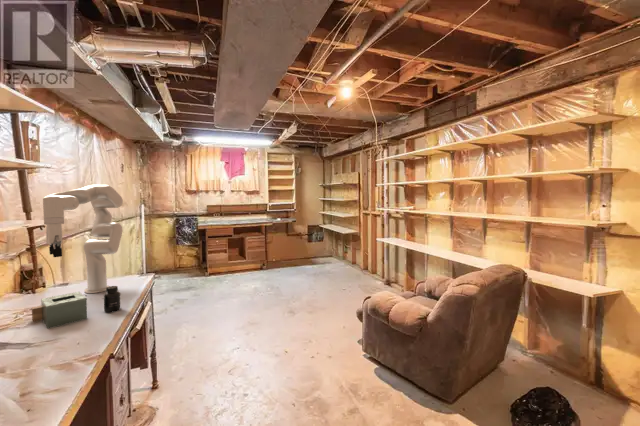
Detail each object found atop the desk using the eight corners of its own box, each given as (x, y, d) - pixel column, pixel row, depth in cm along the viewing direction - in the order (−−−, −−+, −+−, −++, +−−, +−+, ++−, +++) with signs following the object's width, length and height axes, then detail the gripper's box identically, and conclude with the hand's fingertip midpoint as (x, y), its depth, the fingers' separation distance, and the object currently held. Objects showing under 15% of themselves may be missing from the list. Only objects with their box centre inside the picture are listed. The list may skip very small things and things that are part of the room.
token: (32, 320, 139) (31, 307, 139) (49, 316, 144) (48, 303, 144) (33, 321, 137) (32, 309, 137) (50, 317, 142) (49, 305, 142)
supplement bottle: (112, 313, 147) (111, 289, 147) (100, 312, 149) (99, 288, 148) (123, 308, 154) (123, 285, 153) (112, 307, 155) (112, 284, 155)
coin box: (42, 319, 139) (41, 298, 139) (79, 311, 150) (79, 291, 149) (47, 328, 130) (46, 306, 130) (87, 318, 141) (86, 298, 140)
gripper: (41, 220, 150) (42, 254, 151) (47, 222, 139) (48, 259, 140) (60, 219, 156) (62, 252, 157) (67, 221, 144) (69, 256, 145)
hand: (55, 255), depth 148 cm, fingers open, 9 cm apart
